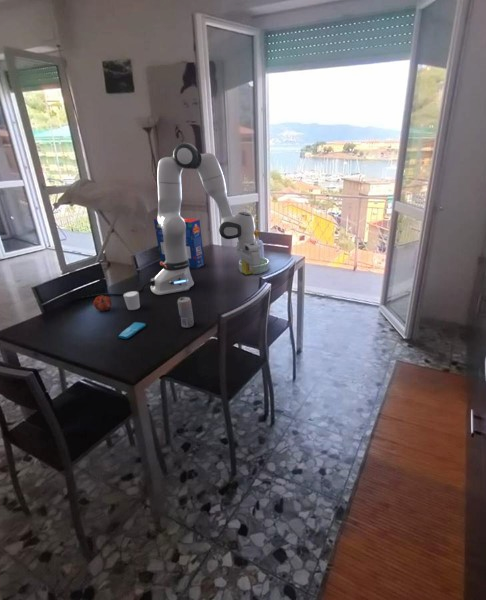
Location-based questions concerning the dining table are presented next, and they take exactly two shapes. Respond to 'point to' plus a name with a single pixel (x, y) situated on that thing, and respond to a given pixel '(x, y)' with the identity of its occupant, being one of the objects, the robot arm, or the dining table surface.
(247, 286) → the dining table surface
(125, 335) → the sponge
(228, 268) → the dining table surface
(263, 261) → the basin
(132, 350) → the dining table surface
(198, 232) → the pasta box
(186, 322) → the energy drink
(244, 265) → the scrub block
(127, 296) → the white cylinder
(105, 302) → the pomegranate
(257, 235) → the soap bottle
